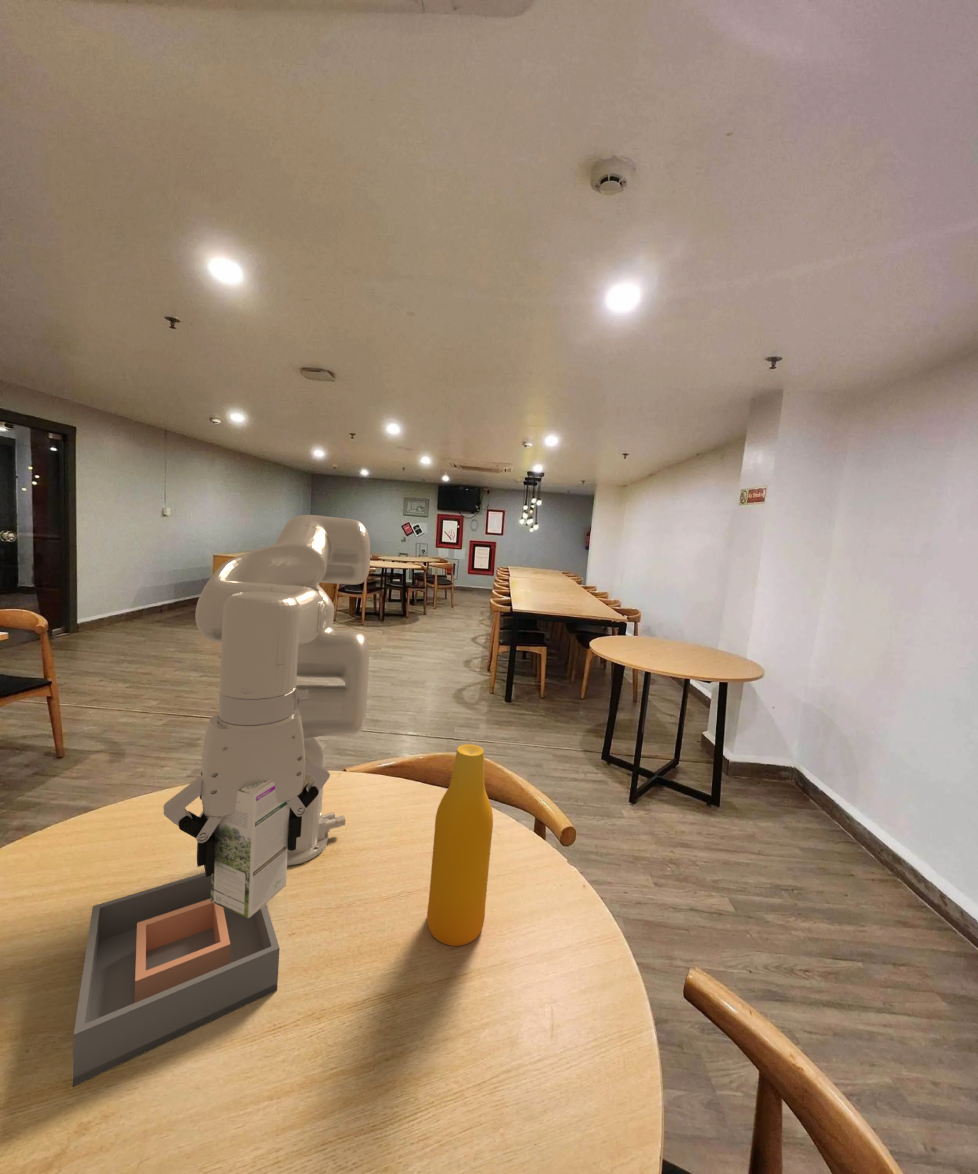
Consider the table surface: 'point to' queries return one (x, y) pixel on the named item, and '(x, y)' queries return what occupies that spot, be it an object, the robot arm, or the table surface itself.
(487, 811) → the beer bottle
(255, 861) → the syrup box
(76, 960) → the table surface
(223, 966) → the walled box
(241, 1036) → the table surface
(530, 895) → the table surface
